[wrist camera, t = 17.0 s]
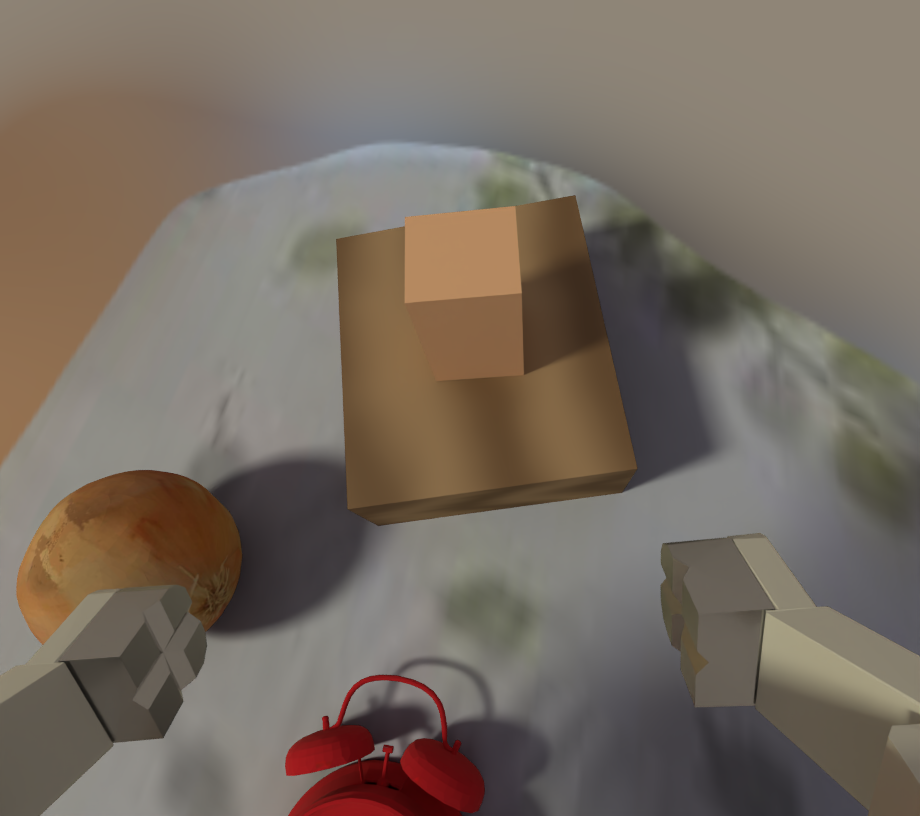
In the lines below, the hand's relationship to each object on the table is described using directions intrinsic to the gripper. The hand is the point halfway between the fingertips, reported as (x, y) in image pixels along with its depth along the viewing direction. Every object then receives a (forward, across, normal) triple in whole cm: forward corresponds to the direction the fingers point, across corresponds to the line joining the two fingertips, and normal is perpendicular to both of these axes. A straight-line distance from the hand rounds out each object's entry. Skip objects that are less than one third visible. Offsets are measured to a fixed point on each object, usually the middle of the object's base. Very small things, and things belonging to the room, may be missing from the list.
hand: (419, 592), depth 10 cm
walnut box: (+26, 0, +7) cm, 26 cm away
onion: (+18, +18, +14) cm, 29 cm away
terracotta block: (+21, 0, +3) cm, 21 cm away
